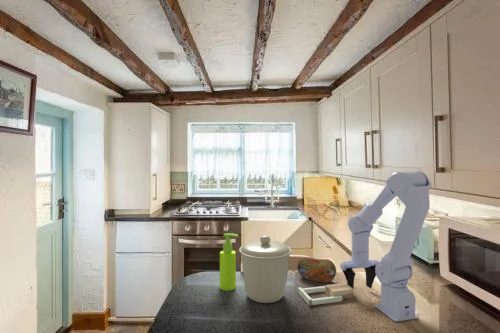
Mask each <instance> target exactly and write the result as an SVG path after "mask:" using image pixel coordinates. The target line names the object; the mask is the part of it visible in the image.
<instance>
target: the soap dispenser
mask: <svg viewBox="0 0 500 333" xmlns="http://www.w3.org/2000/svg"><path fill="white" fill-rule="evenodd" d="M222 237H225V240H224V241H223V243H222V246H223V247H222V250H221V251H220V252H219V289H220V290H221V289H222V291H227V292H228V291H229V290H230V291H233V290H235V289H236V287H237V285H236V284H237V282H236V281H237V278H236V276H237V270H236V269H237V267H236V266H237V265H236V264H237V262H236V260H237V256H236V254H237V251H235V250H233V242H232V241H231V237H234V238H237V237H239V234H237V233H232V232H229V233H228V232H227V233H223V236H222Z"/></svg>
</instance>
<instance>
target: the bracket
mask: <svg viewBox="0 0 500 333" xmlns="http://www.w3.org/2000/svg"><path fill="white" fill-rule="evenodd" d="M323 292H325V285H322V286H321V285H320V286H315V287H314V286H313V287H305V288H302V287H301V286H300V287H297V294H298V295H299V296H300V297H301V298H302V299H303V301H305V302H306V304H307V305H308V306H315V305H321V304H322V305H323V304H331V303H338V302H340V303H341V302H343V299H342V296H341V295H340V296H332V297H329V296H325V297H318V298H317V297H316V298H311V296H309V294H314V293H316V294H317V293H323Z"/></svg>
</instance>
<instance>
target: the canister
mask: <svg viewBox="0 0 500 333" xmlns="http://www.w3.org/2000/svg"><path fill="white" fill-rule="evenodd" d="M238 252H239V253H240V256H241V265H242V275H243V282H244V288H245V289H244V290H245V293H246V296H248V298H249V299H250V300H252V301H253V302H256V303H260V304H272V303H276V302H279V301H280V300H281V299H283V297H284V295H285V294H286V293H285V292H286V288H287V282H288V281H287V280H288V275H289V274H288V273H289V266H290V265H289V264H290V263H289V262H290V255H291V254H292V252H293V250H292V248H291V247H290V246H288V245H287V244H285V243H284V242H280V241H277V240H271V237H270V236H269V235H262V236H260V238H259V240H253V241H248V242H246V243H244V244H243V245H241V246H240V247H239V248H238Z"/></svg>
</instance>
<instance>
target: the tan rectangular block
mask: <svg viewBox="0 0 500 333" xmlns="http://www.w3.org/2000/svg"><path fill="white" fill-rule="evenodd" d="M324 286H325V294H326V295H327V297H332V296H340V295H341V296H342V300H344V299H353V298H354V297H355V296H354V295H355V294H354V293H355V292H354V290H355V288H354V289H353V288H352V287H350V286H349V285H348V284H347V283H346V282H343V283H335V284H334V283H333V284H326V285H324Z"/></svg>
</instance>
